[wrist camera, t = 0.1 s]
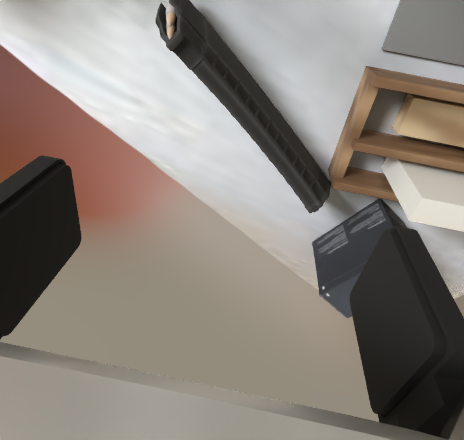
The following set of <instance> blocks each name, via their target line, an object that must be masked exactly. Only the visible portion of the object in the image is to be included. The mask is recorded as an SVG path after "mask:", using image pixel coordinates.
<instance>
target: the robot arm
mask: <svg viewBox="0 0 464 440" xmlns="http://www.w3.org/2000/svg"><path fill="white" fill-rule="evenodd" d="M80 242H81V231H80V224H79V217H78V211H77V204H76V198H75V192H74V185H73V179H72V173H71V168H70V167H69V166H67V165H66V163H65V162H64V160H62V159H58V158H53V157H48V156H39V157H37V158H36V159H35V160H33V161H32V162H30V163H29V164H27V165H26V166H25V167H23V168H22V169H20V170H19V171H18V172H16V173H15V174H13V175H12V176H10V177H9V178H8V179H6V180H5V181H3V182H2V183H1V184H0V339H1V337H3V336H6V335H9V334H10V333H11V332H12V331H13V329H14V328H15V327H16V326H17V325H18V323H19V322H20V321H21V319H22V318H23V317H24V316H25V314H26V313H27V312H28V310H29V309H30V308H31V307H32V305H33V304H34V303H35V302H36V300H37V299H38V298H39V297H40V295H41V294H42V293H43V291H44V290H45V289H46V288H47V286H48V285H49V284H50V283H51V281H52V280H53V279H54V277H55V276H56V275H57V274H58V272H59V271H60V270H61V268H62V267H63V266H64V265H65V263H66V262H67V261H68V260H69V258H70V257H71V256H72V254H73V253H74V252H75V250H76V249H77V248H78V246H79V245H80ZM350 306H351V311H352V316H353V321H354V326H355V331H356V336H357V341H358V345H359V351H360V355H361V360H362V365H363V370H364V375H365V379H366V385H367V390H368V395H369V400H370V405H371V408H372V410H373V412H374V413H376V414H378V418H379V422H376V421H371V420H367V419H363V418H358V417H354V416H350V415H345V414H341V413H336V412H332V411H327V410H322V409H318V408H312V407H308V406H304V405H299V404H294V403H290V402H285V401H280V400H276V399H271V398H266V397H261V396H257V395H252V394H248V393H243V392H238V391H233V390H229V389H224V388H219V387H214V386H210V385H205V384H200V383H196V382H191V381H186V380H181V379H176V378H171V377H167V376H162V375H157V374H152V373H148V372H143V371H138V370H133V369H128V368H124V367H118V366H114V365H109V364H105V363H99V362H95V361H90V360H85V359H80V358H75V357H70V356H65V355H61V354H56V353H51V352H46V351H40V350H36V349H31V348H26V347H21V346H16V345H12V344H7V343H2V342H0V440H464V318H463V316H462V314H461V312H460V310H459V308H458V306H457V305H456V303H455V301H454V299H453V297H452V295H451V293H450V291H449V290H448V288H447V286H446V284H445V282H444V280H443V278H442V277H441V275H440V273H439V271H438V269H437V267H436V265H435V263H434V262H433V260H432V258H431V256H430V254H429V252H428V250H427V249H426V247H425V245H424V243H423V241H422V239H421V237H420V235H419V234H418V232H417V231H416V230H414V229H409V228H404V227H399V226H393V227H392V228H391V229H390V230H388V229H387V230H385V231H384V232H383V233H382V235H381V237H380V239H379V241H378V243H377V244H376V246H375V248H374V250H373V252H372V254H371V255H370V257H369V259H368V261H367V263H366V265H365V266H364V268H363V270H362V272H361V274H360V276H359V278H358V279H357V281H356V283H355V285H354V287H353V289H352V291H351V293H350Z"/></svg>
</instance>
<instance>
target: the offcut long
mask: <svg viewBox="0 0 464 440" xmlns="http://www.w3.org/2000/svg"><path fill="white" fill-rule="evenodd" d="M392 128H393V130H394V131H395V132H396V134H398V135H403V136H408V137H413V138H418V139H423V140H429V141H434V142H439V143H444V144H449V145H454V146H459V147H464V104H462V103H457V102H451V101H446V100H441V99H436V98H431V97H426V96H421V95H416V94H411V93H407V95H406V98H405V100H404V102H403V104H402V106H401V109H400V111H399V113H398V115H397V117H396V120H395V122H394V124H393V126H392Z"/></svg>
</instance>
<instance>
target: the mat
mask: <svg viewBox="0 0 464 440" xmlns="http://www.w3.org/2000/svg"><path fill="white" fill-rule="evenodd" d="M382 50H386V51H392V52H397V53H402V54H407V55H412V56H417V57H422V58H428V59H433V60H438V61H443V62H448V63H453V64H458V65H464V0H400V2H399V5H398V8H397V10H396V13H395V16H394V18H393V21H392V23H391V26H390V29H389V31H388V34H387V36H386V39H385V42H384V44H383V47H382Z"/></svg>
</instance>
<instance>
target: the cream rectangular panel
mask: <svg viewBox="0 0 464 440" xmlns="http://www.w3.org/2000/svg"><path fill="white" fill-rule="evenodd" d="M381 168H382V170H383V172H384V174H385V176H386V178H387V180H388V182H389V184H390V185H391V187H392V189H393V191H394V193H395V195H396V197H397V199H398V201H399V203H400V205H401V207H402V209H403V210H404V212H405V214H406V216H407V218H408V220H409V221H413V222H418V223H422V224H427V225H432V226H437V227H442V228H447V229H452V230H457V231H462V232H464V172H461V171H456V170H451V169H445V168H440V167H435V166H430V165H425V164H420V163H415V162H410V161H405V160H400V159H395V158H390V157H386V159H385V161H384V163H383V165H382V167H381Z"/></svg>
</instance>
